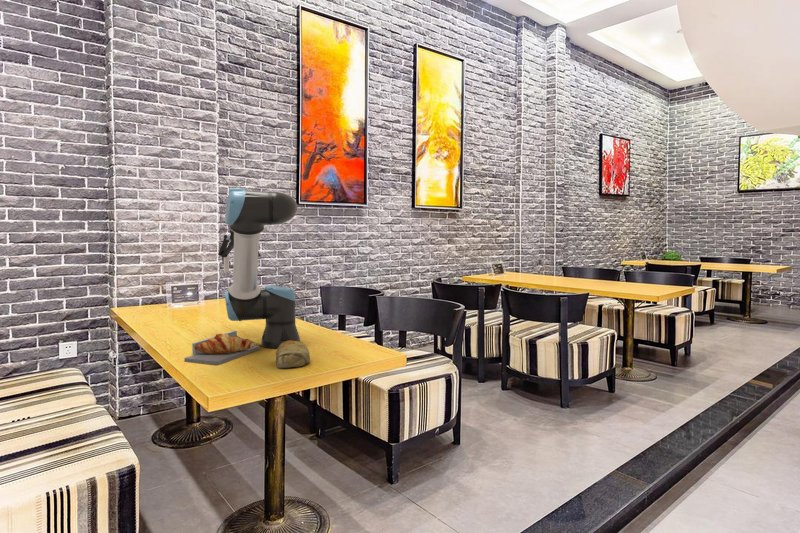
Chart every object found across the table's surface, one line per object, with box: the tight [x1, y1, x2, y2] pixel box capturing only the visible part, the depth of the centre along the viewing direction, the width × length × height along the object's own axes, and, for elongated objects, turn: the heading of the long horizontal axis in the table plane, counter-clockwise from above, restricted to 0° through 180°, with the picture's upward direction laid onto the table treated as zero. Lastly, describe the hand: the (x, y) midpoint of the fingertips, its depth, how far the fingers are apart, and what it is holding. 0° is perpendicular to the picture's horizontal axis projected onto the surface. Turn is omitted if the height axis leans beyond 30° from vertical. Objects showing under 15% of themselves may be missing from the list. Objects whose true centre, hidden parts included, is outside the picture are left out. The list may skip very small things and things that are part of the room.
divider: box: [191, 330, 238, 355], centre depth 193 cm, size 1×24×4 cm, turn 161°
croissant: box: [194, 333, 256, 354], centre depth 181 cm, size 21×10×8 cm, turn 115°
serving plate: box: [183, 345, 261, 366], centre depth 181 cm, size 14×24×1 cm, turn 161°
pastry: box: [275, 340, 311, 369], centre depth 170 cm, size 14×12×8 cm
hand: (239, 272), depth 218 cm, fingers open, 13 cm apart
